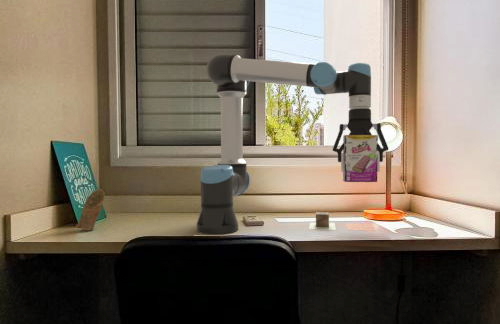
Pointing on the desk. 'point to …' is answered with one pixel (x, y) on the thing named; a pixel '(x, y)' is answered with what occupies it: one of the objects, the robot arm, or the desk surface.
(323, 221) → the walnut block
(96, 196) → the figurine
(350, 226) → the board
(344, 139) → the candy bar box
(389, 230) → the desk surface
